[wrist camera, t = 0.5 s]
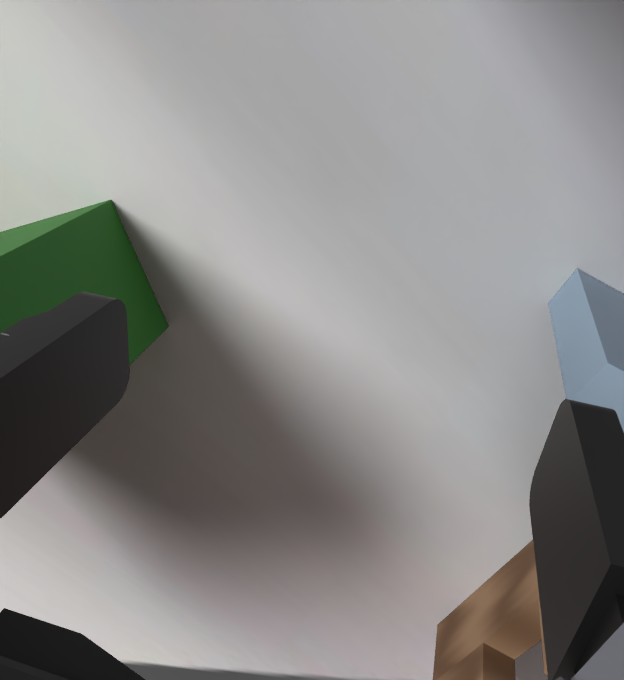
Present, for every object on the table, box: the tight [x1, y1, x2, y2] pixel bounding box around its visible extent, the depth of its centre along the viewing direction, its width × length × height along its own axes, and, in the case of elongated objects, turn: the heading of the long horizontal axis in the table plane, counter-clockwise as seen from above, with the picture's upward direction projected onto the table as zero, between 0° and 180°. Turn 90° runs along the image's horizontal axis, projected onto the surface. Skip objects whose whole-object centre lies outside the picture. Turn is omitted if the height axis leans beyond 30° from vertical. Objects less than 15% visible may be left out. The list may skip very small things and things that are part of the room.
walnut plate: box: [433, 540, 548, 680], centre depth 31 cm, size 16×2×8 cm, turn 155°
